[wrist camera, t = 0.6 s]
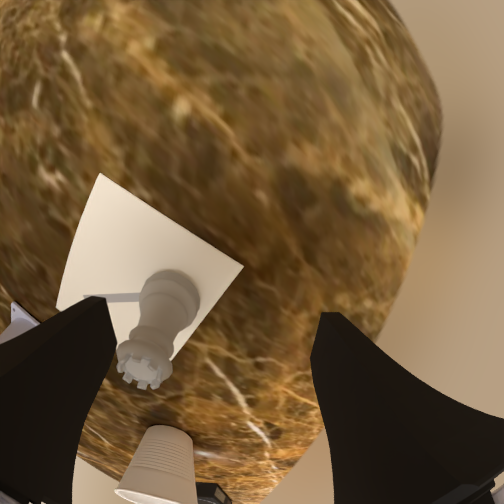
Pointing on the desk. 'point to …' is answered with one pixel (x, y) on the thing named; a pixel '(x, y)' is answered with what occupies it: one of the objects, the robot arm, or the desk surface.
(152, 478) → the cup
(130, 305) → the paper
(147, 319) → the rook chess piece
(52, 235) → the desk surface
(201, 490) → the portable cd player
